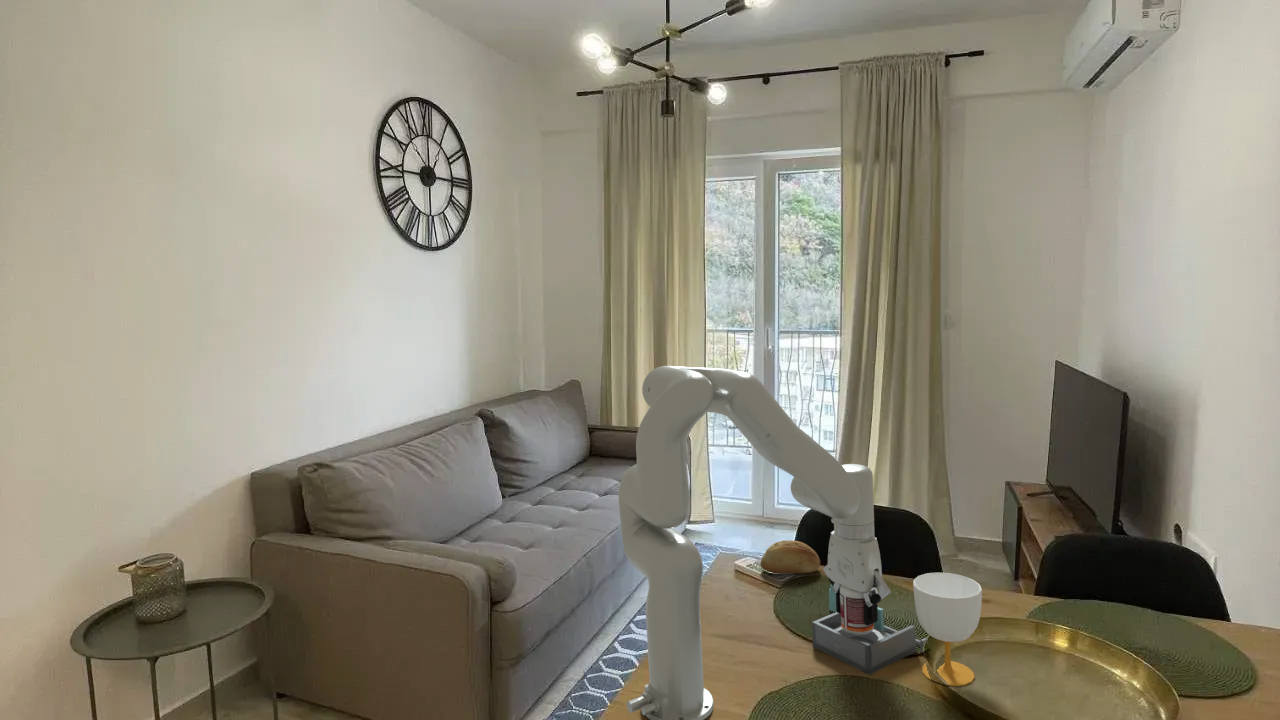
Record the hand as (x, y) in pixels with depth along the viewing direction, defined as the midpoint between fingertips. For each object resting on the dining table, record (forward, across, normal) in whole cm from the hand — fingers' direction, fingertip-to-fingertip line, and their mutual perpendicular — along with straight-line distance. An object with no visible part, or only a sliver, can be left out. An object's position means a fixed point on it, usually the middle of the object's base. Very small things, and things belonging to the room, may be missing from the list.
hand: (856, 616), depth 146 cm
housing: (+7, 0, +3) cm, 8 cm away
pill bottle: (+3, 0, 0) cm, 3 cm away
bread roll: (+8, -37, +19) cm, 42 cm away
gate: (+7, -9, +10) cm, 15 cm away
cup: (+8, +16, +6) cm, 18 cm away
